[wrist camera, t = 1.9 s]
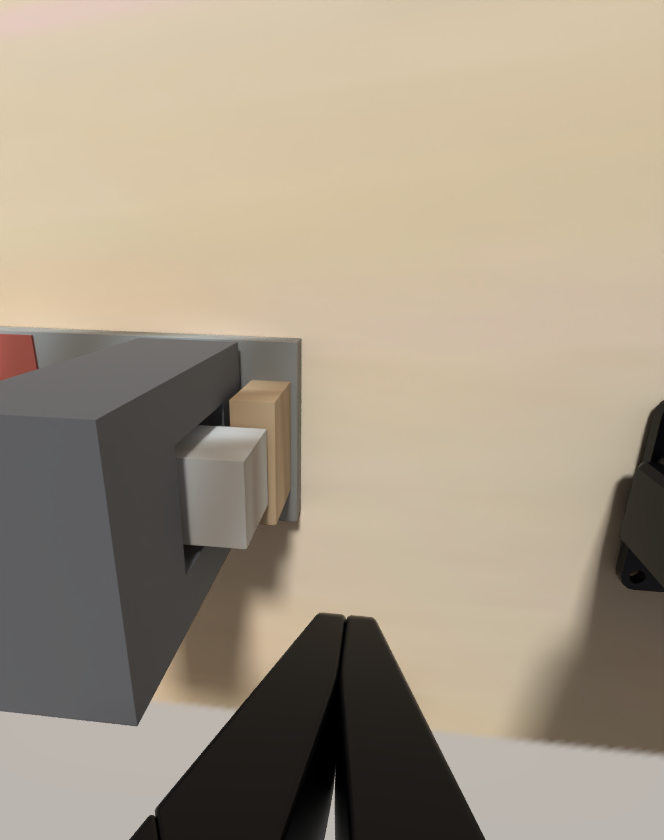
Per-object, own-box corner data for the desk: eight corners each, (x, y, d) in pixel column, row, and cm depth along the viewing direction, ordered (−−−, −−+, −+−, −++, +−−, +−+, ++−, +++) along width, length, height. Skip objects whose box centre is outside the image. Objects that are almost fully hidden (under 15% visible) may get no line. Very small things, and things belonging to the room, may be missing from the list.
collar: (237, 341, 14) (95, 420, 7) (244, 522, 16) (137, 726, 9) (139, 337, 14) (-94, 409, 7) (157, 516, 16) (-14, 709, 9)
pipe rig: (301, 338, 15) (259, 377, 10) (300, 509, 17) (264, 619, 12) (-111, 322, 16) (-343, 349, 11) (-69, 483, 18) (-250, 572, 13)
